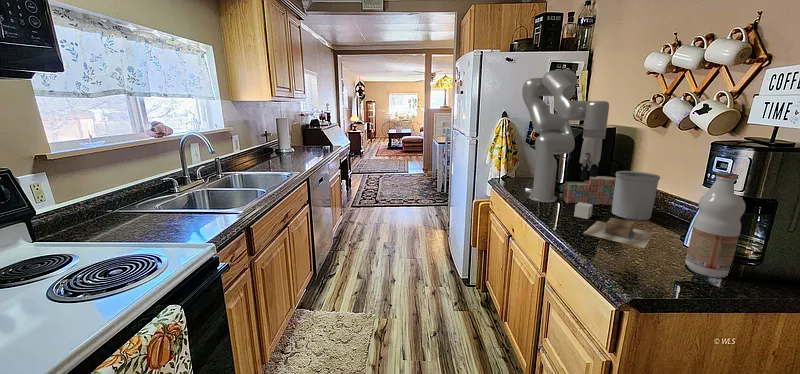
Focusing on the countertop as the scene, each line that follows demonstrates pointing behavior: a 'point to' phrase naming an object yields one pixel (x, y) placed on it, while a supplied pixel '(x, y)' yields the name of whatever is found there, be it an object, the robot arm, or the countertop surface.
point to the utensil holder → (634, 194)
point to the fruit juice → (716, 228)
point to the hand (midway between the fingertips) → (588, 178)
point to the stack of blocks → (590, 191)
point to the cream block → (583, 210)
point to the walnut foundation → (619, 227)
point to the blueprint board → (635, 239)
